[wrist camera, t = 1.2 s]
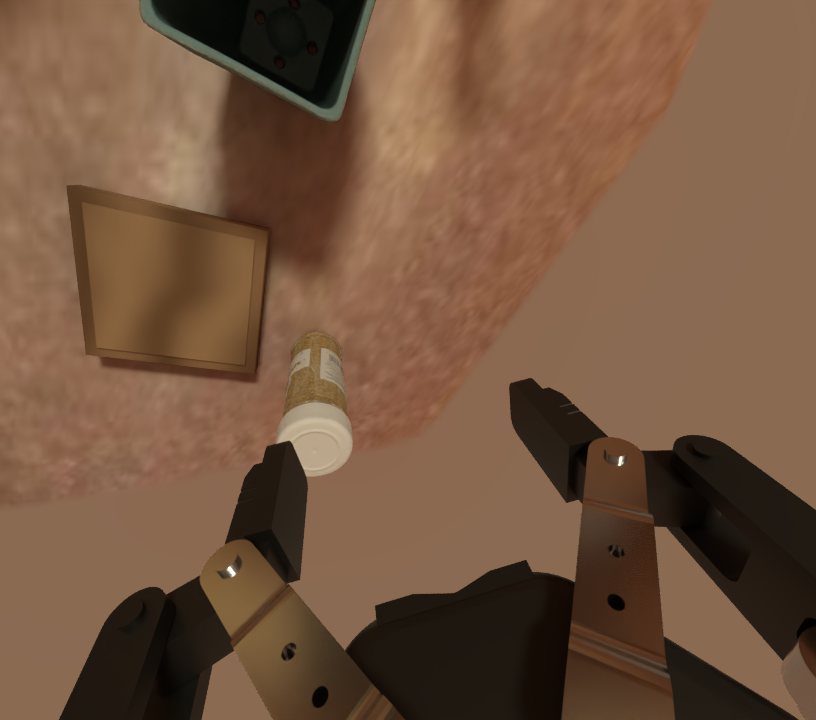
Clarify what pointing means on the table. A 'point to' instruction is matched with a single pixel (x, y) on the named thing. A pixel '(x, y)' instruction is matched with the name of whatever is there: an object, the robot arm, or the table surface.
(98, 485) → the table surface
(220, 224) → the brown rectangular tray
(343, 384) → the sprinkles bottle
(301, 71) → the flower pot
